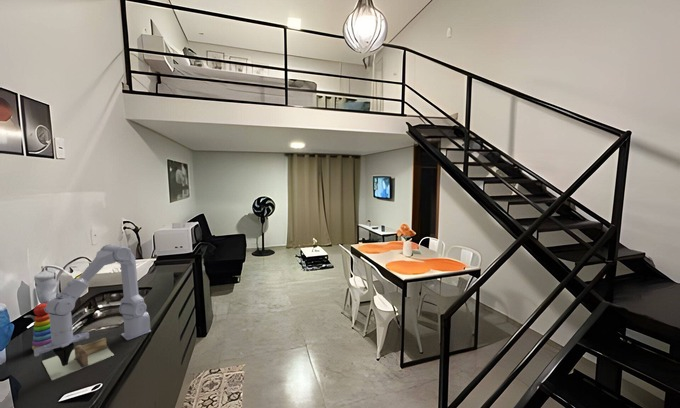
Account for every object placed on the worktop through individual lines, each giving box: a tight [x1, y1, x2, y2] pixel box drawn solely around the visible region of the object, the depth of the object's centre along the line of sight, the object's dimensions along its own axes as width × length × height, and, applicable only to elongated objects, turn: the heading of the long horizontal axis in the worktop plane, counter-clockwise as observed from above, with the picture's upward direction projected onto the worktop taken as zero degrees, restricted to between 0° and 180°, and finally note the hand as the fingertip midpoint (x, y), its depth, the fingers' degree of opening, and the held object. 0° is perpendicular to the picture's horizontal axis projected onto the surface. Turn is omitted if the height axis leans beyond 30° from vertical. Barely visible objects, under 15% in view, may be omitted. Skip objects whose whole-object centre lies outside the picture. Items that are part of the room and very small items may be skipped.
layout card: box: [41, 345, 115, 381], centre depth 112 cm, size 18×18×1 cm
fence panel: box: [77, 348, 88, 365], centre depth 109 cm, size 8×1×4 cm, turn 56°
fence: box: [74, 337, 108, 359], centre depth 115 cm, size 10×2×5 cm, turn 144°
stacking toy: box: [31, 302, 52, 351], centre depth 120 cm, size 8×8×19 cm
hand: (64, 364), depth 105 cm, fingers closed
